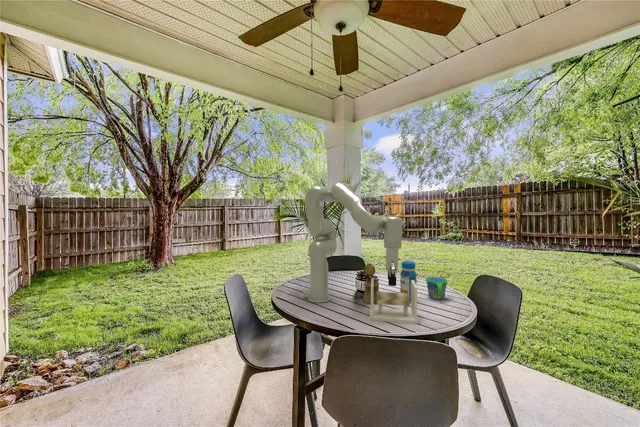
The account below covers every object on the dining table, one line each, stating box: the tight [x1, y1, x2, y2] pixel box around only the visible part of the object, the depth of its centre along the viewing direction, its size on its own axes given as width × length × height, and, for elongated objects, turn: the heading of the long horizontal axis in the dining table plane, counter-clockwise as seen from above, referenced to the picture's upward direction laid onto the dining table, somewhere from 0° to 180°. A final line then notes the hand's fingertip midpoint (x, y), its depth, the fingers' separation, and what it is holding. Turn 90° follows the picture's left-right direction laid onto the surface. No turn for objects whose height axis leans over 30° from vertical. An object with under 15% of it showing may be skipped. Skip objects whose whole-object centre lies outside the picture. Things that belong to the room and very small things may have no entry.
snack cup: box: [425, 276, 449, 301], centre depth 150 cm, size 16×10×10 cm
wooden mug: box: [362, 263, 380, 305], centre depth 148 cm, size 9×14×18 cm, turn 179°
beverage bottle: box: [399, 260, 418, 303], centre depth 147 cm, size 8×8×20 cm
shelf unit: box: [369, 278, 419, 325], centre depth 125 cm, size 20×12×15 cm, turn 78°
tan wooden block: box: [376, 291, 411, 307], centre depth 125 cm, size 14×5×4 cm, turn 78°
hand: (391, 282), depth 125 cm, fingers open, 9 cm apart
